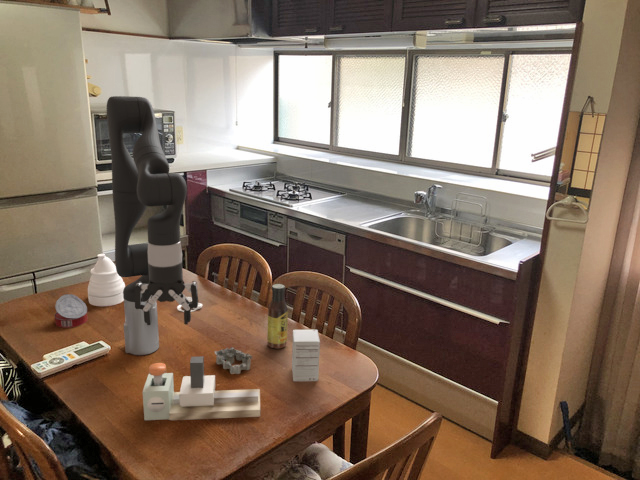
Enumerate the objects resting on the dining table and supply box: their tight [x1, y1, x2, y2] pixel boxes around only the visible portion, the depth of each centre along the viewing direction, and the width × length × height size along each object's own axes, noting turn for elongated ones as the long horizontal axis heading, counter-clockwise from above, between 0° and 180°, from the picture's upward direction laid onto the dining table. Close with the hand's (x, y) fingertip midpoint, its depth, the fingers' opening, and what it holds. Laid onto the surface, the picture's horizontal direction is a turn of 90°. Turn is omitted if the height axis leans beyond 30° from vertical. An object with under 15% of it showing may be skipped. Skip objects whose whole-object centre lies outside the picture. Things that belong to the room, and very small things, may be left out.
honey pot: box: [87, 253, 126, 307], centre depth 190 cm, size 13×13×18 cm
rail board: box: [168, 388, 261, 421], centre depth 132 cm, size 22×9×4 cm, turn 97°
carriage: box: [179, 355, 216, 407], centre depth 130 cm, size 8×8×12 cm
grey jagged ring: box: [214, 346, 253, 375], centre depth 152 cm, size 11×8×4 cm
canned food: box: [54, 293, 89, 329], centre depth 174 cm, size 11×10×10 cm
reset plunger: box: [148, 362, 167, 386], centre depth 128 cm, size 4×4×6 cm
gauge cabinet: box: [142, 372, 175, 421], centre depth 129 cm, size 6×9×8 cm
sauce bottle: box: [266, 283, 289, 350], centre depth 162 cm, size 7×6×20 cm
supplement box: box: [291, 329, 321, 382], centre depth 147 cm, size 7×7×13 cm
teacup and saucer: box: [176, 296, 203, 313], centre depth 188 cm, size 9×8×4 cm
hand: (168, 323), depth 125 cm, fingers open, 8 cm apart
